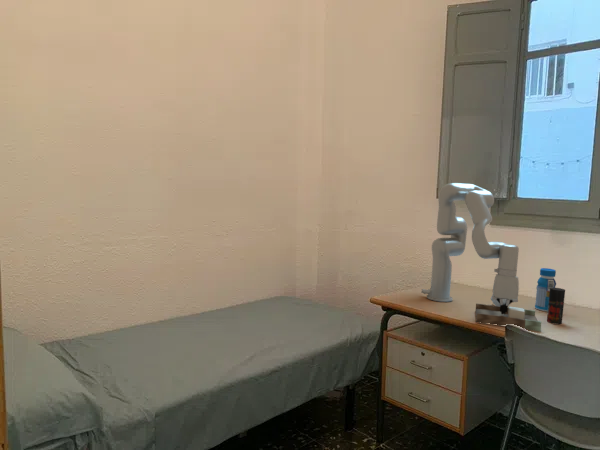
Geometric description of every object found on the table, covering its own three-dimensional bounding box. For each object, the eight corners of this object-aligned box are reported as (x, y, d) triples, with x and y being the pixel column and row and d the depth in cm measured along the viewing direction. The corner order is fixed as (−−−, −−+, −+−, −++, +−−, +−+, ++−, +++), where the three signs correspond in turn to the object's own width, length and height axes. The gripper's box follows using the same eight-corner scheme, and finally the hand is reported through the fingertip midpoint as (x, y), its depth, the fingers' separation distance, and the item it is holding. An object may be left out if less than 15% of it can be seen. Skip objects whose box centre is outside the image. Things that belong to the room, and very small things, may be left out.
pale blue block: (508, 318, 206) (509, 309, 205) (507, 315, 211) (508, 306, 211) (523, 320, 204) (524, 311, 203) (522, 317, 209) (523, 308, 209)
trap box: (476, 322, 204) (477, 313, 204) (475, 311, 222) (476, 303, 222) (540, 331, 196) (541, 322, 196) (534, 319, 214) (535, 310, 214)
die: (508, 311, 228) (518, 294, 230) (492, 301, 229) (501, 284, 231) (500, 313, 236) (510, 296, 238) (485, 303, 237) (494, 286, 239)
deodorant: (543, 319, 214) (547, 287, 212) (556, 320, 214) (559, 287, 213) (551, 324, 208) (555, 290, 206) (564, 324, 208) (568, 290, 207)
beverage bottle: (532, 309, 231) (536, 269, 229) (536, 306, 238) (540, 266, 236) (552, 313, 226) (556, 271, 224) (555, 309, 233) (559, 269, 231)
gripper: (489, 272, 206) (485, 313, 208) (526, 276, 201) (522, 318, 203) (488, 269, 213) (484, 309, 215) (524, 273, 208) (520, 313, 210)
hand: (503, 313), depth 209 cm, fingers closed
